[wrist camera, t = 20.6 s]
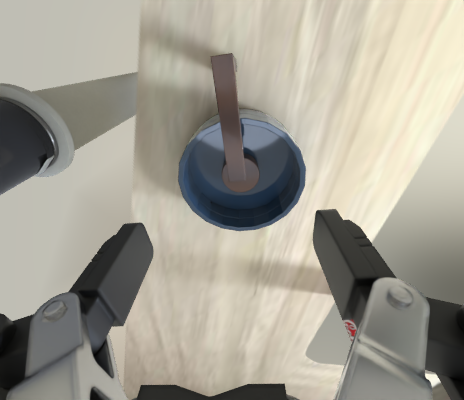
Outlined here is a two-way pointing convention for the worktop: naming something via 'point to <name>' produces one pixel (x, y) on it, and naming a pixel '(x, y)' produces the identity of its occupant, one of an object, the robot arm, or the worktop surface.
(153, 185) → the worktop surface
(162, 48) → the worktop surface
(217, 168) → the bowl
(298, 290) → the worktop surface
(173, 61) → the worktop surface
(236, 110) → the brown door handle
